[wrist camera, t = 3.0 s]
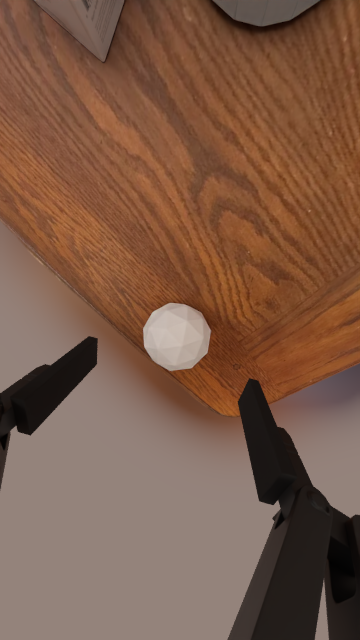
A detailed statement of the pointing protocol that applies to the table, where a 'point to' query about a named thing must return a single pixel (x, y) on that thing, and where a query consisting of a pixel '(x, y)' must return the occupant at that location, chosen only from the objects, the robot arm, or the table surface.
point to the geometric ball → (176, 336)
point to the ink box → (87, 21)
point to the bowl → (264, 10)
